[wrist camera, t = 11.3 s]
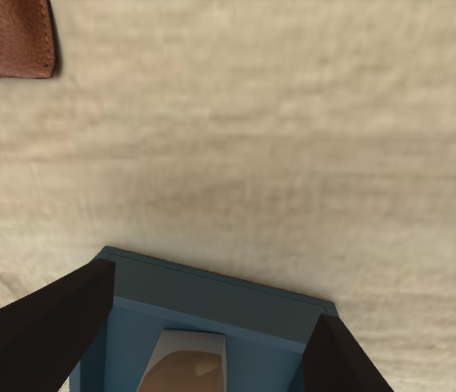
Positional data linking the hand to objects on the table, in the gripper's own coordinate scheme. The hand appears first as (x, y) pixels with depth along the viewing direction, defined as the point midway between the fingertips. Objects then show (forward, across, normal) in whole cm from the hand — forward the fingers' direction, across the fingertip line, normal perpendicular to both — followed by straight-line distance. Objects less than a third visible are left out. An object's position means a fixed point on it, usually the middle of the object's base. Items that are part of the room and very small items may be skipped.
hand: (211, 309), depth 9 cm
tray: (+6, 0, +11) cm, 12 cm away
